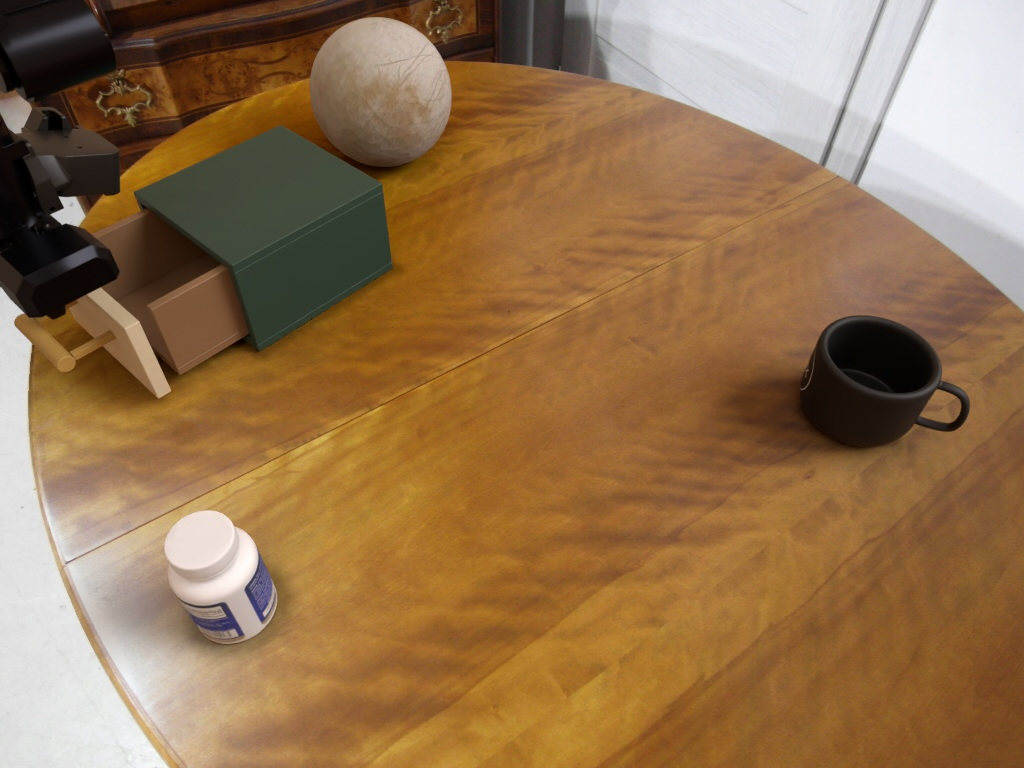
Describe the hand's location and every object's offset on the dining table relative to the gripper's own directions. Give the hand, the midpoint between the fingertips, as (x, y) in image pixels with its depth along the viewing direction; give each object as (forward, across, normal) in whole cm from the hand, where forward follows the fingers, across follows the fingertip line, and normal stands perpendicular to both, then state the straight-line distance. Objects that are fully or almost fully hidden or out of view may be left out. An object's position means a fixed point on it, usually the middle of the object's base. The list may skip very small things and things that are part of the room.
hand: (57, 314), depth 59 cm
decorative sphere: (+8, +8, -40) cm, 42 cm away
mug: (+8, -50, -40) cm, 65 cm away
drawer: (+6, 0, -7) cm, 10 cm away
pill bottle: (+8, -26, +4) cm, 27 cm away
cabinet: (+8, 0, -19) cm, 21 cm away
